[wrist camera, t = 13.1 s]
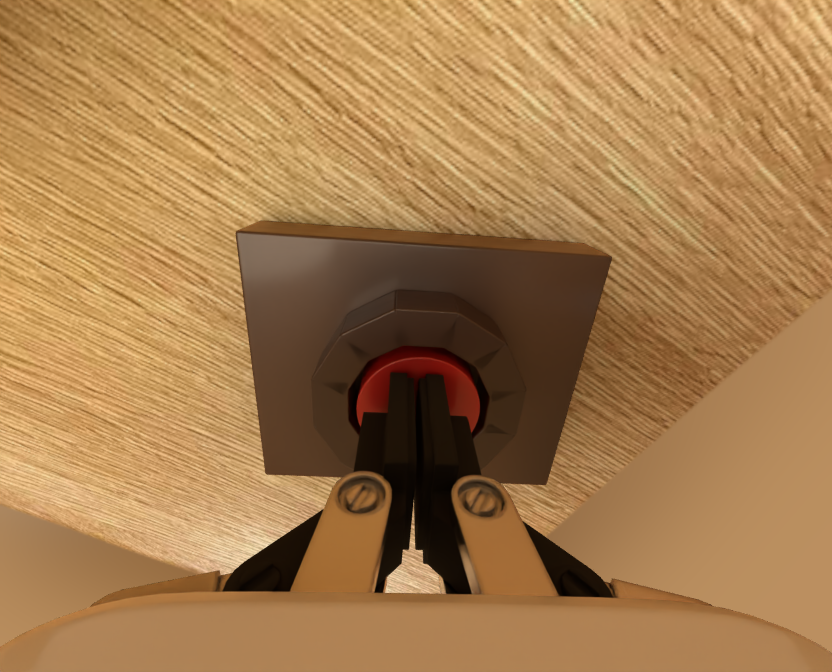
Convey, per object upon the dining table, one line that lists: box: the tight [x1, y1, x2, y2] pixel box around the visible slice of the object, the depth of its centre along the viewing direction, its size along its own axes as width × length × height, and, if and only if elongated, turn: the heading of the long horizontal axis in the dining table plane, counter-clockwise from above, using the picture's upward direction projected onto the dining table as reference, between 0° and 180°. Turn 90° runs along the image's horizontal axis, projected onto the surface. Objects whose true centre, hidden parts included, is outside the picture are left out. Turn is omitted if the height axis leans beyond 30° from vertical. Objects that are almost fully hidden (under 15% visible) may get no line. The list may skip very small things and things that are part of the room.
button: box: [356, 346, 480, 433], centre depth 13 cm, size 4×4×2 cm
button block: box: [236, 221, 612, 485], centre depth 14 cm, size 12×10×4 cm
